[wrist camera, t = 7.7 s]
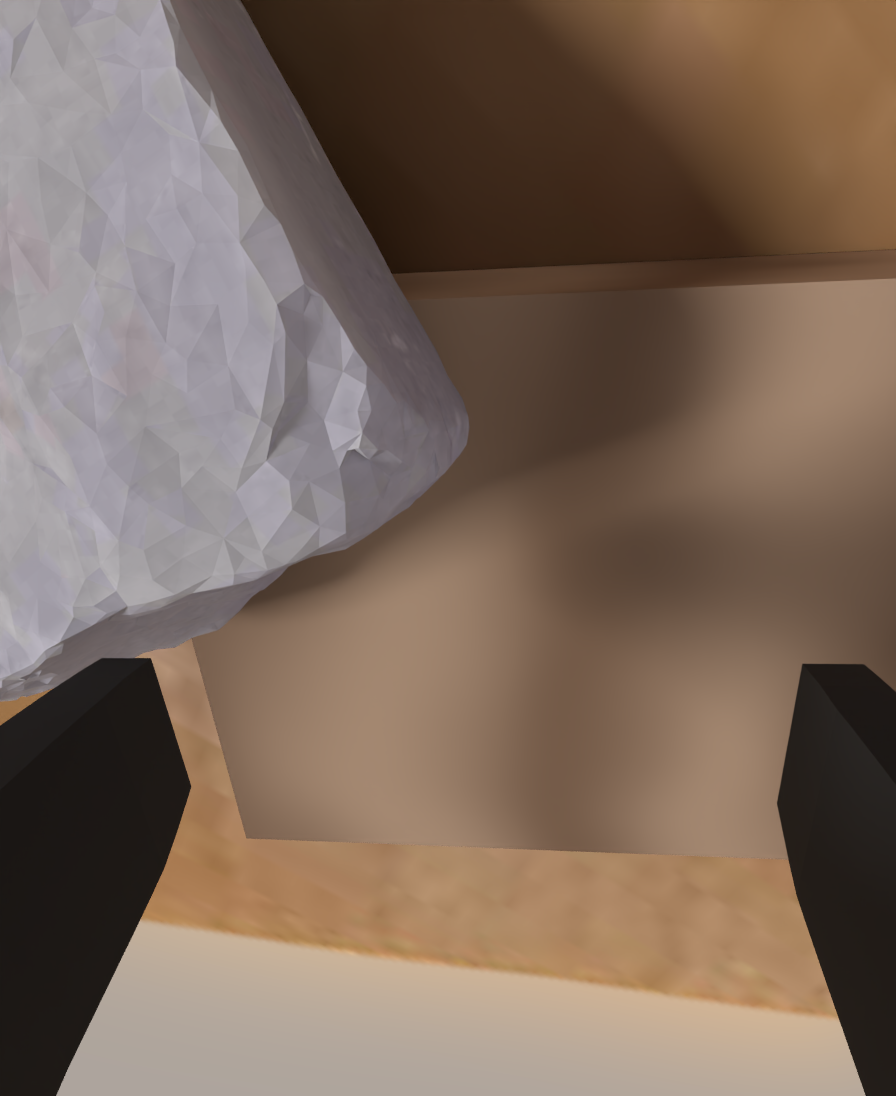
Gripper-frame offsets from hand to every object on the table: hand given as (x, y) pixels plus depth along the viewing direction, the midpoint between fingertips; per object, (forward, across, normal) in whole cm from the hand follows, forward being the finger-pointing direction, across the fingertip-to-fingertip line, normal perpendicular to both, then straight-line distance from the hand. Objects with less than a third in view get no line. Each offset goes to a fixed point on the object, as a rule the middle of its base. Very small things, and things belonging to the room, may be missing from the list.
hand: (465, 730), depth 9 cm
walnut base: (+7, -2, +2) cm, 8 cm away
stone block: (+5, +11, -2) cm, 12 cm away
